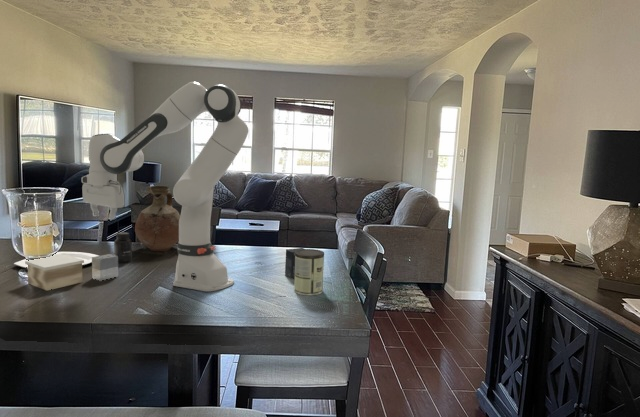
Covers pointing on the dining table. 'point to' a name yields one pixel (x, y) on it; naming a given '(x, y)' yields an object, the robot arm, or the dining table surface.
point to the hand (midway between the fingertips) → (103, 217)
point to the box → (290, 262)
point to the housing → (104, 267)
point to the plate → (84, 256)
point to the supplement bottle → (123, 247)
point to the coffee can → (309, 272)
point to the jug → (158, 221)
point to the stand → (54, 271)
